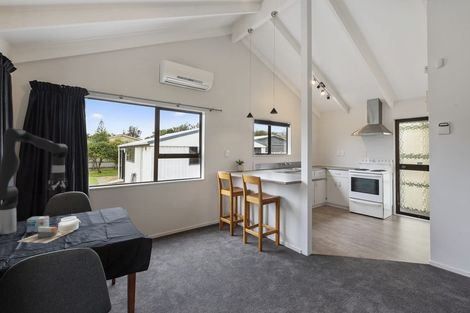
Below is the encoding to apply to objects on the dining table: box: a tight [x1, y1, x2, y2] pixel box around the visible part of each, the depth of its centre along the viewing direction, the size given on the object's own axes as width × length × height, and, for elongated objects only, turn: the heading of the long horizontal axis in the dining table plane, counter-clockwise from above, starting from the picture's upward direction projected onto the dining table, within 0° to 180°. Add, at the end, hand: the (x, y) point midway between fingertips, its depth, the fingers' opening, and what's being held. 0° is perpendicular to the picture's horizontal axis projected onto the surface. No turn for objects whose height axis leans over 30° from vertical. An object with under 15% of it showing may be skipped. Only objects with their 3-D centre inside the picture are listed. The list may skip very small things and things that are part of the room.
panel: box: [16, 229, 73, 244], centre depth 152 cm, size 20×22×2 cm
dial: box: [37, 226, 58, 238], centre depth 152 cm, size 12×10×6 cm
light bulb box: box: [26, 215, 50, 233], centre depth 162 cm, size 11×7×11 cm, turn 105°
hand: (57, 194), depth 160 cm, fingers open, 8 cm apart
